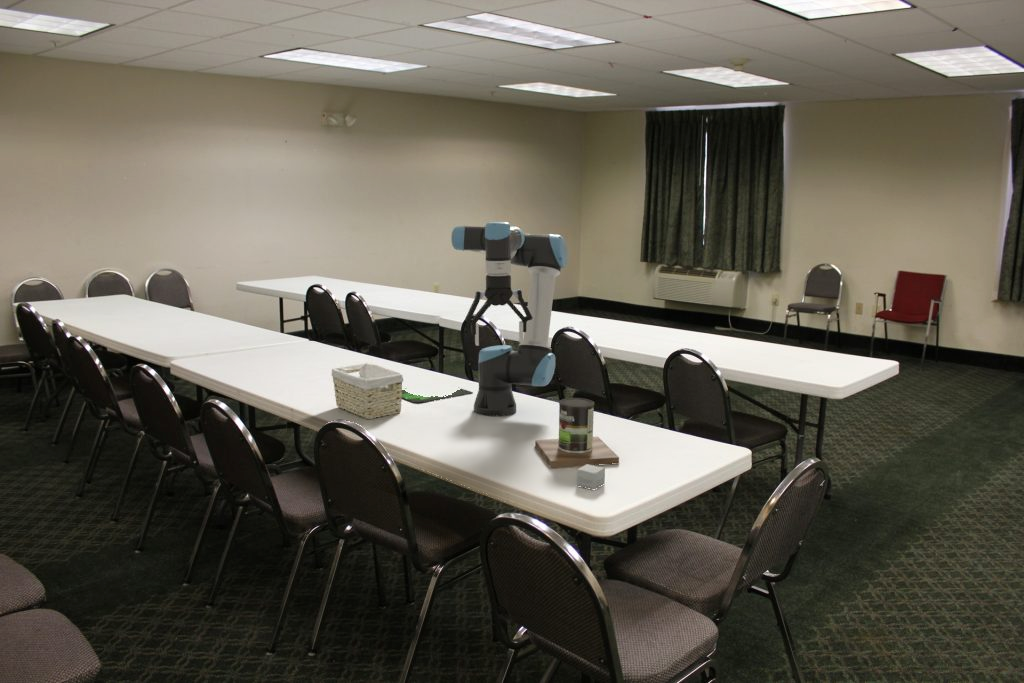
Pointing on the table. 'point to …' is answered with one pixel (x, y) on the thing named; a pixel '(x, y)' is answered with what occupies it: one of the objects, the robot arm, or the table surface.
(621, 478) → the table surface
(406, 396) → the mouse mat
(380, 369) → the storage basket
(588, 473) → the small box
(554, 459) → the walnut board
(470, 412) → the table surface
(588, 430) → the coffee can
